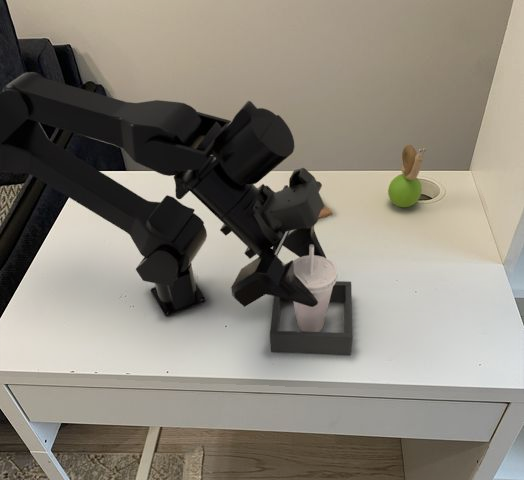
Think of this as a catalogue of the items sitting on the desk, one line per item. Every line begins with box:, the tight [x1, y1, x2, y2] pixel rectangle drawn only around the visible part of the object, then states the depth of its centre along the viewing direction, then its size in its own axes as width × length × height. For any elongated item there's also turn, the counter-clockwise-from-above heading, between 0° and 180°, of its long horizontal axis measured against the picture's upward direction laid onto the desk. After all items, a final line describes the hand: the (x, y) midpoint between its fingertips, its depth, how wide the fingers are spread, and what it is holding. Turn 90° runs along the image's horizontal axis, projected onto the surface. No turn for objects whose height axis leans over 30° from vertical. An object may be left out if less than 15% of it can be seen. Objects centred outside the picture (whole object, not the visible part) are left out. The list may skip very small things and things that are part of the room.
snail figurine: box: [387, 144, 427, 208], centre depth 89 cm, size 5×6×12 cm
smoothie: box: [292, 244, 338, 332], centre depth 71 cm, size 6×6×14 cm
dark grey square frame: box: [269, 280, 354, 356], centre depth 75 cm, size 11×11×4 cm
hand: (322, 287), depth 70 cm, fingers closed on smoothie, 6 cm apart
